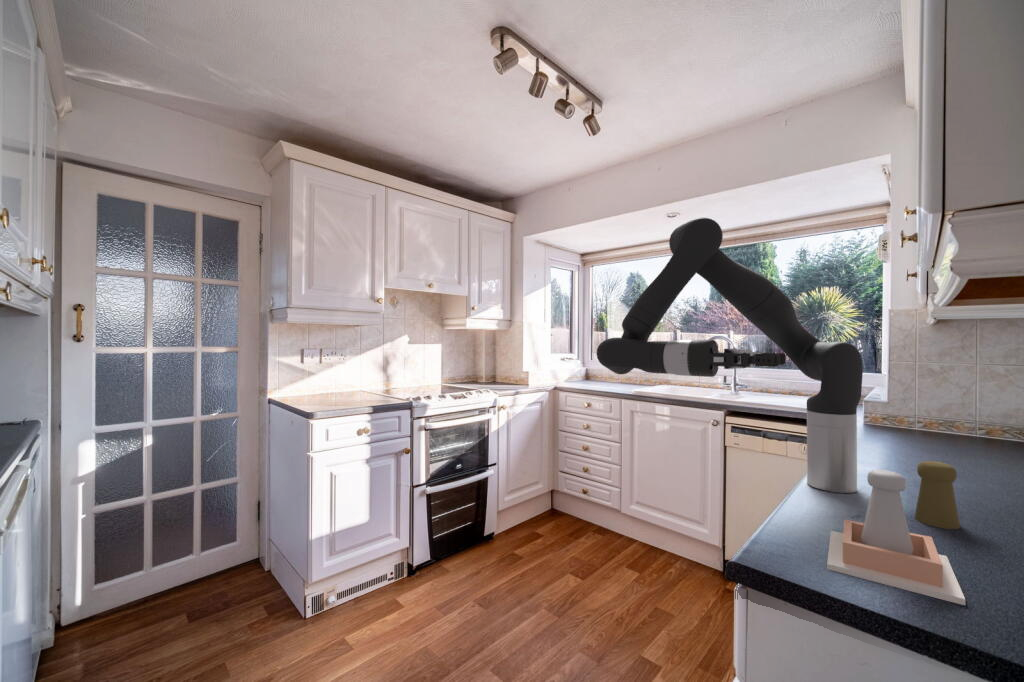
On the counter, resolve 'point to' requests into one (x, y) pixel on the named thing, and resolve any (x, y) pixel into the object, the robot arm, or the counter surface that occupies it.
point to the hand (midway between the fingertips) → (782, 359)
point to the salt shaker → (886, 513)
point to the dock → (894, 564)
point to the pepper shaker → (937, 495)
